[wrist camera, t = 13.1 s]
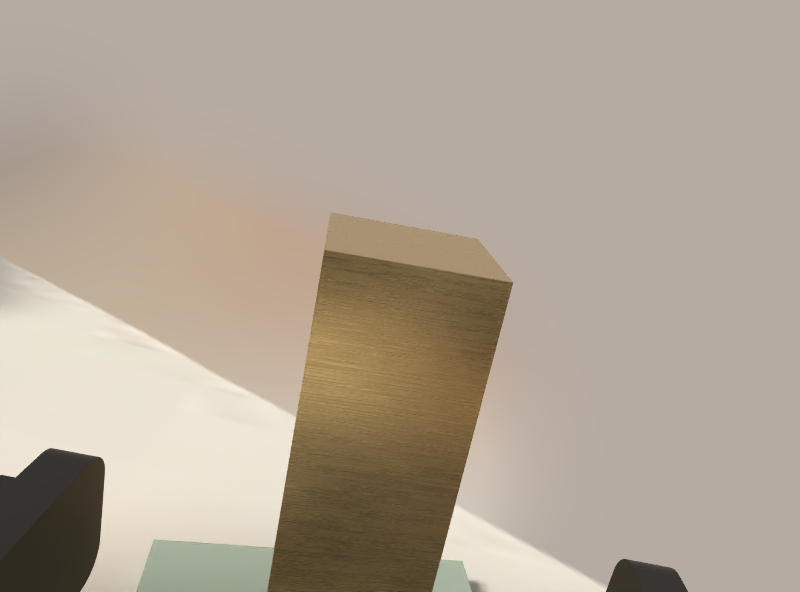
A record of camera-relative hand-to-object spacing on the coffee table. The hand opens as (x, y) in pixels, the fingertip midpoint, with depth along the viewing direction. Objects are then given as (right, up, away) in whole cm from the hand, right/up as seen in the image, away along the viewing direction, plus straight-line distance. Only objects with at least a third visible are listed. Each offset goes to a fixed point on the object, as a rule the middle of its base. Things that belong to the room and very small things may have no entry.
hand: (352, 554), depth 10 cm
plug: (-2, -8, +9) cm, 12 cm away
